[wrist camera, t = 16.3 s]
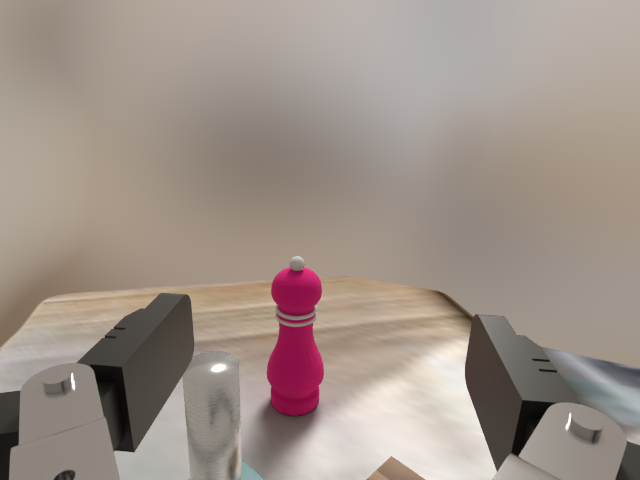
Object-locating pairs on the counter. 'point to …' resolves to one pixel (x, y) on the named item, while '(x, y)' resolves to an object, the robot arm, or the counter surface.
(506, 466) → the robot arm
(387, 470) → the bore block
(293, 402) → the pepper mill
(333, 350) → the counter surface
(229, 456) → the axle
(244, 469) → the socket
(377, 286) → the counter surface
